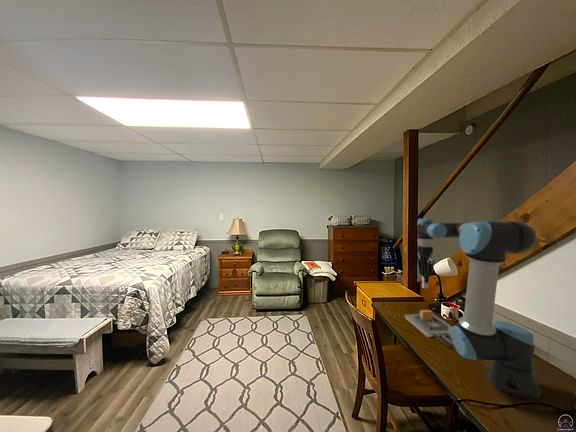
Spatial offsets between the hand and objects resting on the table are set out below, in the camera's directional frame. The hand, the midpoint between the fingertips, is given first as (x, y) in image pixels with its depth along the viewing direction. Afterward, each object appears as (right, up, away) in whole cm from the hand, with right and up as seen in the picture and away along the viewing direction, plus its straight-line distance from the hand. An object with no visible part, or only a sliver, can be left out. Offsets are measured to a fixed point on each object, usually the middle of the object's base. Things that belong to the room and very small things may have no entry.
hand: (425, 287), depth 139 cm
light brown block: (+6, -22, +10) cm, 25 cm away
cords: (+6, -25, -12) cm, 28 cm away
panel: (+6, -24, +6) cm, 26 cm away
